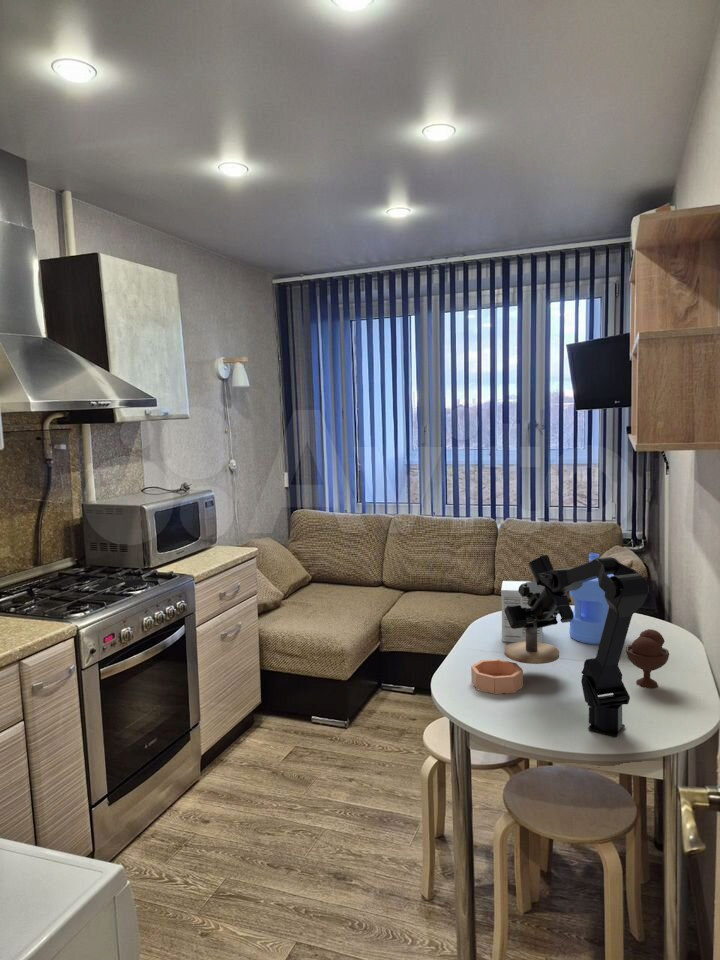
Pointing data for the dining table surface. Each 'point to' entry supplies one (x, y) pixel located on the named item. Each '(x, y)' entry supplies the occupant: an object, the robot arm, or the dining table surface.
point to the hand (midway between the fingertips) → (528, 628)
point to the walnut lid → (532, 649)
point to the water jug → (589, 611)
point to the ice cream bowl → (647, 655)
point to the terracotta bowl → (497, 676)
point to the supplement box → (513, 597)
